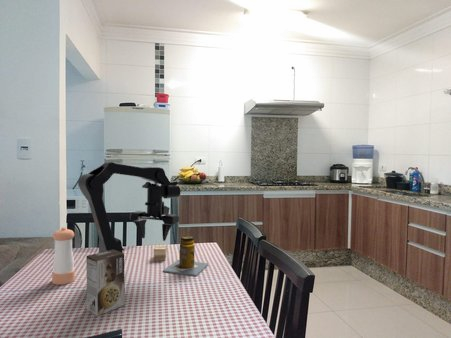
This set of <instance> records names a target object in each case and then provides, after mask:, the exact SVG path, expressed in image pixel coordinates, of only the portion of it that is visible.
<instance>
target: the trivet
mask: <svg viewBox="0 0 451 338" xmlns="http://www.w3.org/2000/svg"><path fill="white" fill-rule="evenodd" d="M177 264H179V259H177V260H175V261H174V262H173V263H171V264H170V265H169V266H167V267H166V268H164V269H162V272H163V273H169V274H176V275H177V274H178V275H184V276H190V277H191V276H192V277H197V276H198V275H200V274H201V273H202V272H203V271H204V270H203V269H204V268H205V267H206V266H207V267H208V266H209V265H208V264H210V263H209V262H208V263H207V262H199V261H194V265H197V266H198V267H195V268H192V269H188V270H184V271H181V270H177V269H176V268H174V267H172V266H173V265H177ZM207 267H206V268H207ZM206 268H205V269H206Z"/></svg>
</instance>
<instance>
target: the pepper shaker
mask: <svg viewBox="0 0 451 338" xmlns="http://www.w3.org/2000/svg"><path fill="white" fill-rule="evenodd" d="M74 237H75V232H74V231H73V230H72V229H69V228H66V227H61V228H60V229H57V230H55V231H54V232H53V234H52V238H53V240H54V256H53V261H52V264H53V267H52V268H53V271H52V274H51V278H52V279H51V282H52V284H53V285H67V284H71V283H73V282H74V281H75V280H76V276H75V275H76V272H75V271H76V269H75V268H74V267H75V265H74V264H75V262H74V261H75V259H74V253H73V239H74Z"/></svg>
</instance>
